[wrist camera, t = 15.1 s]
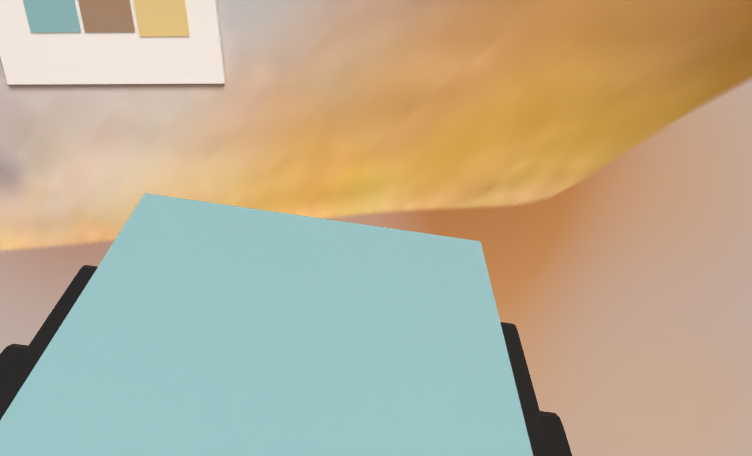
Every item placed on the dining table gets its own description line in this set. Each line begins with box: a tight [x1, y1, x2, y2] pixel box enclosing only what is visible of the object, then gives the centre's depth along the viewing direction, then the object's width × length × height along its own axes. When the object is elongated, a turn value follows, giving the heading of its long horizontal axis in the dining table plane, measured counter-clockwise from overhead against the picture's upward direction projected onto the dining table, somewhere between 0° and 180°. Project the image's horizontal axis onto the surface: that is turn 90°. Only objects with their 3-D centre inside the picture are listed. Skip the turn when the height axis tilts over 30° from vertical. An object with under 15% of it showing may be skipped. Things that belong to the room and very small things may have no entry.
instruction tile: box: [0, 0, 226, 85], centre depth 31 cm, size 10×7×1 cm
